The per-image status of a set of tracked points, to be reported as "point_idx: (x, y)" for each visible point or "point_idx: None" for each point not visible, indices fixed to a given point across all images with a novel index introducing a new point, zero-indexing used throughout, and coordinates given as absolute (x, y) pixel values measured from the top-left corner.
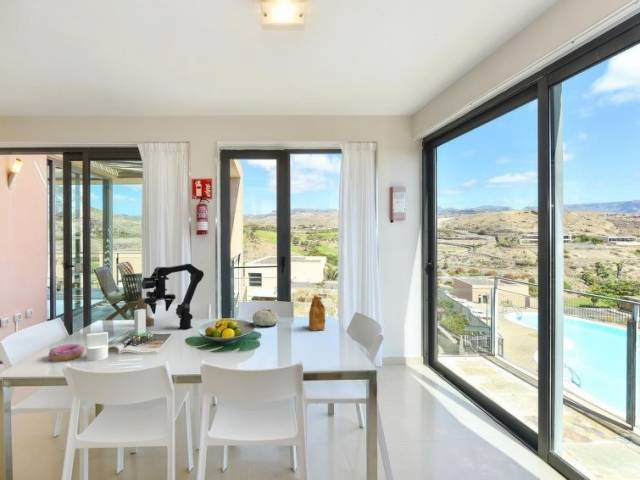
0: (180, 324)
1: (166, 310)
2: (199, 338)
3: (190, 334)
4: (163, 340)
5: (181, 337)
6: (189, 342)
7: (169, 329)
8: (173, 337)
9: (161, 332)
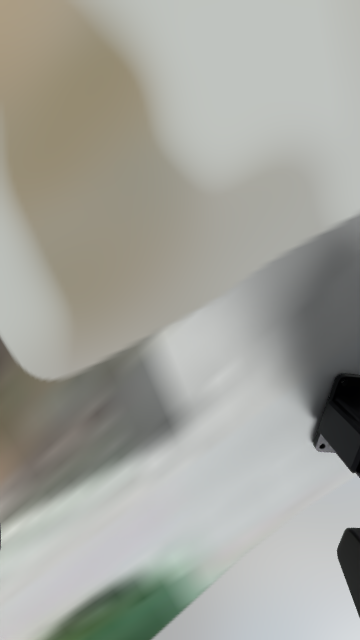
0: (344, 434)
1: (349, 556)
2: (157, 629)
3: (215, 543)
4: (15, 499)
5: (132, 544)
6: (66, 637)
7: (300, 320)
8: (109, 504)
9: (192, 327)
